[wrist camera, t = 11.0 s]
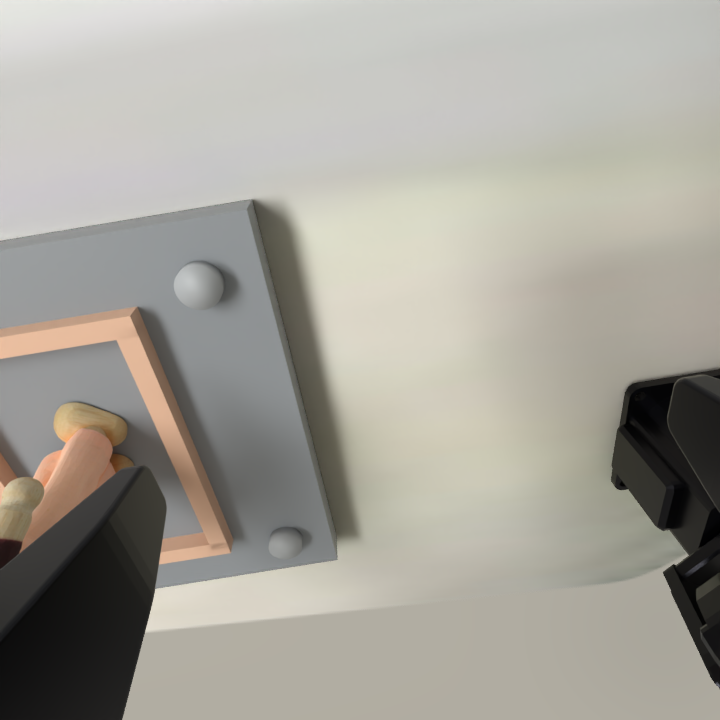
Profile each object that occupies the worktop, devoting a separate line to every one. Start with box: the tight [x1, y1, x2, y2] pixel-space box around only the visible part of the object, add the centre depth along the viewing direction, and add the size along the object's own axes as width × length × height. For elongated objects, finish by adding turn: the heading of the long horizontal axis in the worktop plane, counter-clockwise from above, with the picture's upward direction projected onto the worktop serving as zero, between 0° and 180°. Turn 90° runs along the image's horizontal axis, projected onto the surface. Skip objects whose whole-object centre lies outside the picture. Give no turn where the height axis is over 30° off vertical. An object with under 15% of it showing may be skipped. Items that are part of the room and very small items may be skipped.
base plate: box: [0, 199, 337, 589], centre depth 21 cm, size 18×18×2 cm
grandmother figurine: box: [0, 402, 134, 569], centre depth 16 cm, size 8×4×13 cm, turn 4°
